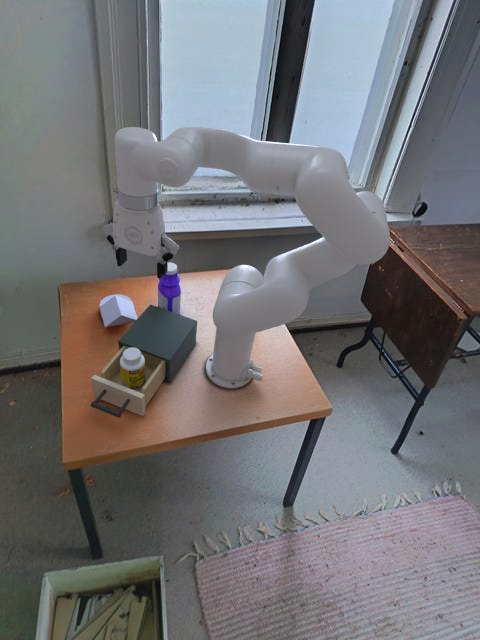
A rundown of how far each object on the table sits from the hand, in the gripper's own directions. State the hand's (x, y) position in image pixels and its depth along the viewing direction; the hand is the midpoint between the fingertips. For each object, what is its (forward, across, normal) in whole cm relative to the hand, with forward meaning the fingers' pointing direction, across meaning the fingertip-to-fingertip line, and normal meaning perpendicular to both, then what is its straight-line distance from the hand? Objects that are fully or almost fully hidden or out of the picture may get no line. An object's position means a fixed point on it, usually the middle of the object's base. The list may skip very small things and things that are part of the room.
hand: (141, 269), depth 90 cm
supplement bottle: (+25, +3, -12) cm, 28 cm away
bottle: (+27, -1, +16) cm, 32 cm away
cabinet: (+27, +4, +1) cm, 27 cm away
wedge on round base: (+27, -13, +9) cm, 31 cm away
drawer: (+26, +3, -14) cm, 30 cm away
